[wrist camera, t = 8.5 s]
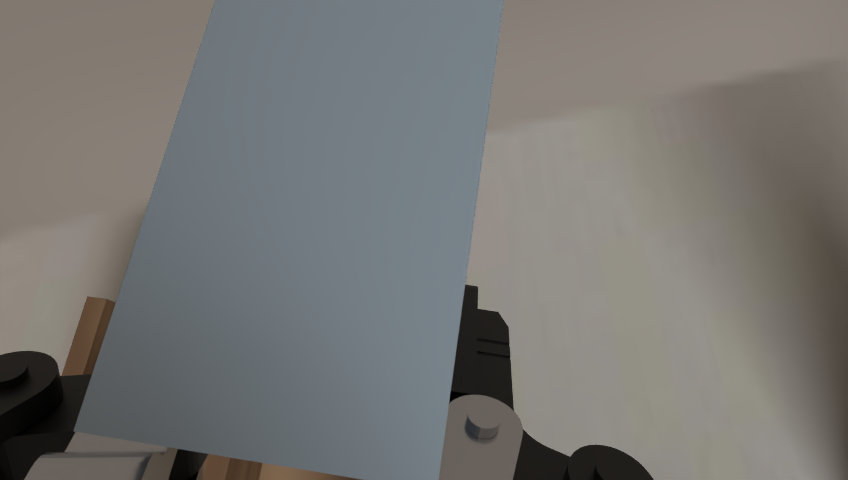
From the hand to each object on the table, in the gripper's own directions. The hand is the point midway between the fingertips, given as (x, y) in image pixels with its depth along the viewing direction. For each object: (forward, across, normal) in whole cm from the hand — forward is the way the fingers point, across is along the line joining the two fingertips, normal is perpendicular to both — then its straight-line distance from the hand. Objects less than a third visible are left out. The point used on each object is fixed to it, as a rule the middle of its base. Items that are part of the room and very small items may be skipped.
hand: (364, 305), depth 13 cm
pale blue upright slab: (+4, 0, +3) cm, 5 cm away
